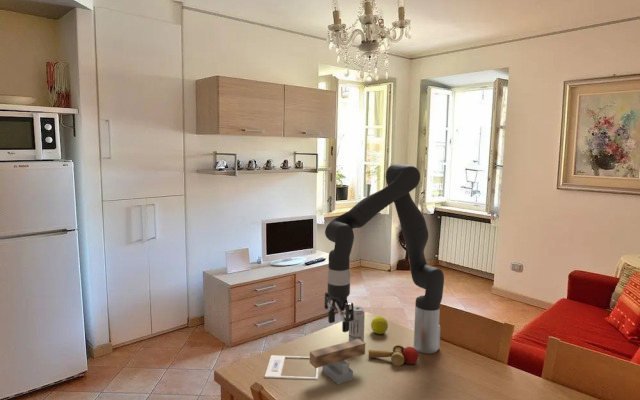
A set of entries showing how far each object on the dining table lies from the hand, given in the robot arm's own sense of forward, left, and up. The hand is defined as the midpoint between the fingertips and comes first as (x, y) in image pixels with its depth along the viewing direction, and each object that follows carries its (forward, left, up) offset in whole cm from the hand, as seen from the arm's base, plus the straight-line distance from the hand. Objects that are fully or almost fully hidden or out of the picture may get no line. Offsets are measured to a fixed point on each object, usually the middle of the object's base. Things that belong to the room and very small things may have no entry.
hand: (338, 326), depth 145 cm
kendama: (-23, +2, -18) cm, 29 cm away
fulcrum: (0, 0, -17) cm, 17 cm away
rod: (0, 0, -11) cm, 11 cm away
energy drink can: (-19, -15, -18) cm, 30 cm away
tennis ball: (-34, -19, -18) cm, 43 cm away
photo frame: (+11, -12, -18) cm, 24 cm away
